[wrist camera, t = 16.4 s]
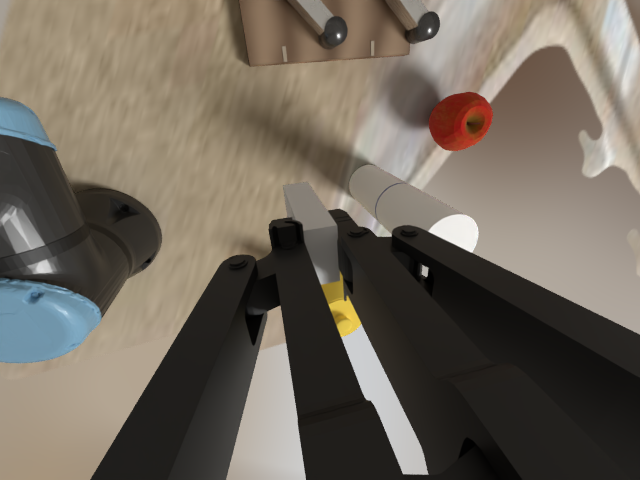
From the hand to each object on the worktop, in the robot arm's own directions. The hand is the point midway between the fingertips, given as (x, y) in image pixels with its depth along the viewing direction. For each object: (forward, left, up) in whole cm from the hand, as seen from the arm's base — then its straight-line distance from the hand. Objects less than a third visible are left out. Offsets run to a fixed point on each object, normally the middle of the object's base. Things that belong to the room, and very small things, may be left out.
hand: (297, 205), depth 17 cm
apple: (+30, 0, -33) cm, 44 cm away
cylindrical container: (+17, -10, -33) cm, 38 cm away
